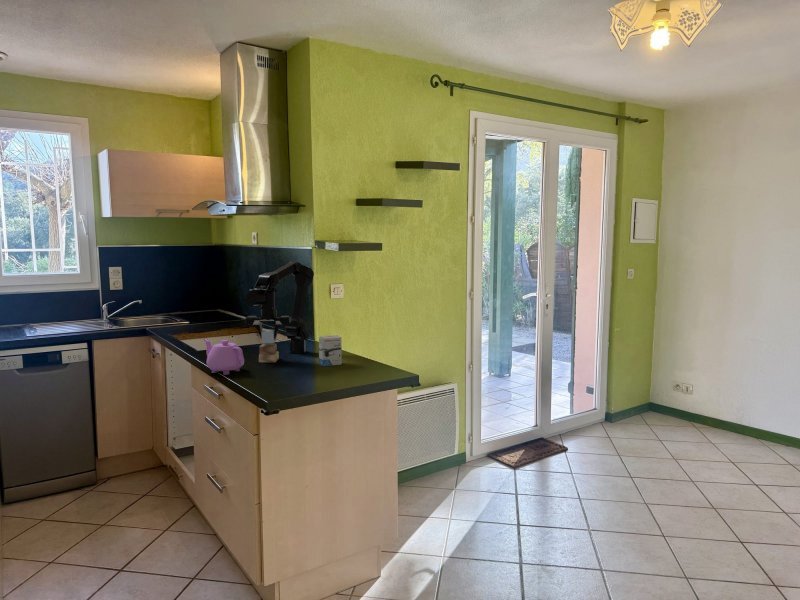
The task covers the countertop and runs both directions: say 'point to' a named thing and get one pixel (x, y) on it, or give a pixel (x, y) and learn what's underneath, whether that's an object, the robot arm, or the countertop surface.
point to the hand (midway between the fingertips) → (268, 339)
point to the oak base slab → (269, 357)
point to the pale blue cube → (267, 336)
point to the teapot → (224, 357)
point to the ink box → (330, 350)
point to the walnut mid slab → (268, 349)
